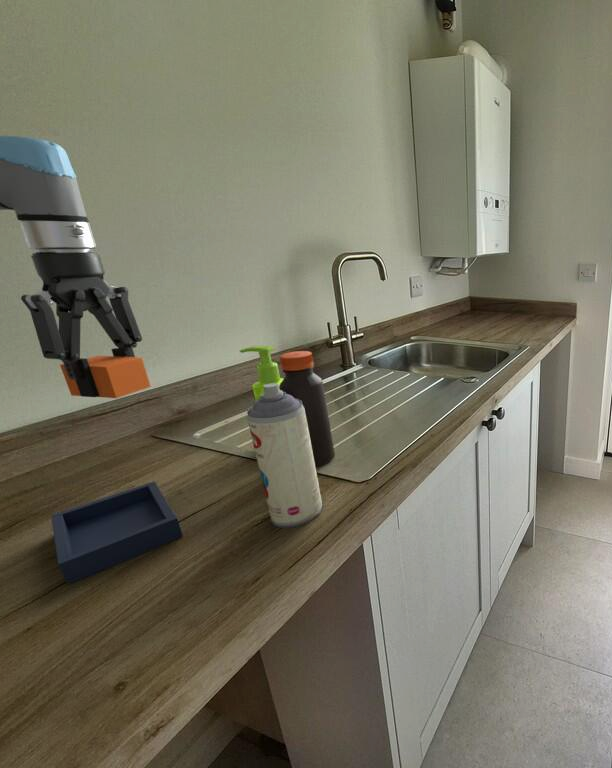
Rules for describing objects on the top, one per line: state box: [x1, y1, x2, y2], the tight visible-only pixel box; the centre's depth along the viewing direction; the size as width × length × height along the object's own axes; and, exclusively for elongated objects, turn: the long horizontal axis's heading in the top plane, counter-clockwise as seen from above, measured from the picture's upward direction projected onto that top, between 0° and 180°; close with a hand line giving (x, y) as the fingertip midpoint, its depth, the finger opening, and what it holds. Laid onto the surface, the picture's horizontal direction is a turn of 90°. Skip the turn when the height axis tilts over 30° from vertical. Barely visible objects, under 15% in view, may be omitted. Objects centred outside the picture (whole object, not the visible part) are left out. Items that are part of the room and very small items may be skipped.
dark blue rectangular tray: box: [50, 480, 184, 586], centre depth 55 cm, size 14×11×3 cm
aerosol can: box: [246, 383, 324, 529], centre depth 57 cm, size 7×7×20 cm
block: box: [59, 355, 151, 399], centre depth 71 cm, size 9×6×6 cm, turn 82°
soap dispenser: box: [239, 345, 285, 402], centre depth 77 cm, size 6×7×20 cm
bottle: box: [279, 350, 335, 468], centre depth 72 cm, size 7×7×20 cm
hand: (111, 389), depth 72 cm, fingers closed on block, 6 cm apart
